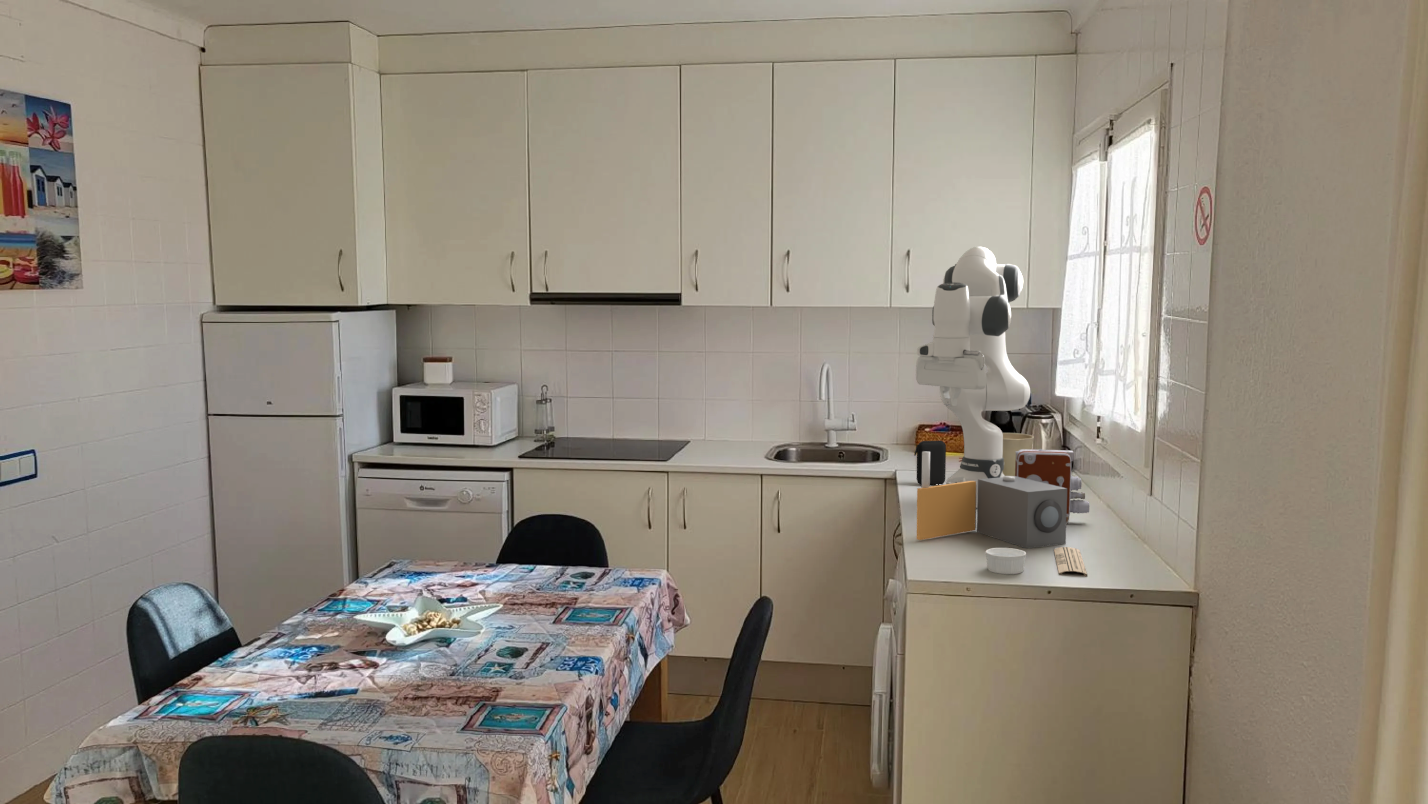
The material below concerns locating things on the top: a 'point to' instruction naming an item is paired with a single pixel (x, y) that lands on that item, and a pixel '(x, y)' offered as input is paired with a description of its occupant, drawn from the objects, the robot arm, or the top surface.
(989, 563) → the ramekin
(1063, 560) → the newspaper
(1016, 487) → the box
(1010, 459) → the plant pot
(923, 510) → the door
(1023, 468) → the cine camera
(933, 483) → the carrying case or bag
